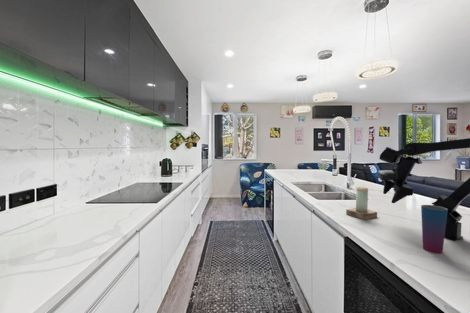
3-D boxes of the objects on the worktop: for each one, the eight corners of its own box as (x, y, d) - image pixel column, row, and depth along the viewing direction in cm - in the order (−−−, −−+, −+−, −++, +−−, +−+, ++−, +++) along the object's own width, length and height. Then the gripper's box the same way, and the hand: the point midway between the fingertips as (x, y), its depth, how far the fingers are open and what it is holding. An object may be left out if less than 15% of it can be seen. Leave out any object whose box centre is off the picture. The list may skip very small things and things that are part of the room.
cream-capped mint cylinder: (369, 212, 112) (370, 188, 112) (360, 212, 112) (360, 188, 111) (363, 209, 117) (363, 187, 117) (353, 209, 117) (354, 187, 116)
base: (377, 217, 112) (377, 212, 112) (363, 219, 108) (363, 214, 108) (359, 211, 121) (359, 207, 121) (346, 213, 117) (346, 209, 117)
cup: (419, 244, 81) (420, 203, 80) (445, 249, 77) (446, 206, 76) (419, 250, 76) (421, 207, 75) (447, 256, 71) (449, 211, 71)
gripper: (377, 158, 109) (364, 185, 115) (394, 171, 92) (378, 202, 97) (400, 163, 108) (386, 191, 113) (422, 178, 90) (404, 210, 96)
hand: (388, 198), depth 105 cm, fingers open, 9 cm apart
